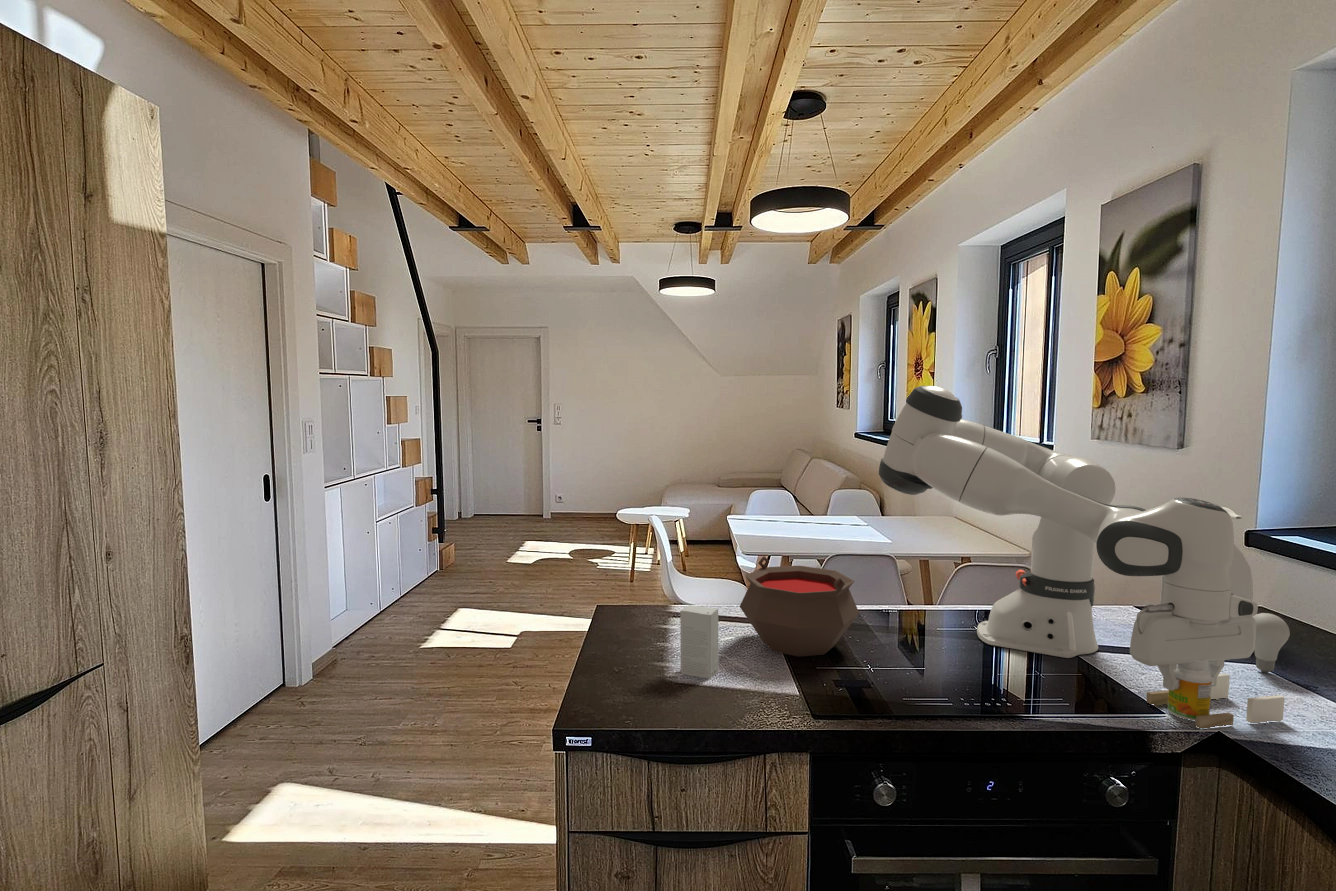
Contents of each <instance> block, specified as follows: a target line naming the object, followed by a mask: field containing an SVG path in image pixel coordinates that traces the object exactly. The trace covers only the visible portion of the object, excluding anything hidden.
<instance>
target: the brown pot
mask: <svg viewBox="0 0 1336 891" xmlns="http://www.w3.org/2000/svg"><path fill="white" fill-rule="evenodd" d="M763 562H764V563H763ZM769 563H770V560H768V558H767V557H766V555H763V556H762V557H761V558H760V560H759V562H758V565H759V566H760V568H758V569H756V570H754V571H752V572H750V573H748V574H746V575H744V577H745V578H746V579H747V581H748V582H749V586H748V588H747V590H746V592H745V594H744V597H743V598H742V601H741V603H740V605H739V608H740V609H741V610H742V611H741V612H742V613H743V614H744V615H745V617H746V618H747V620H748V621H749V623H750V624H751V626H752V627H753V629H754V630H755V633H756V634H757V635H758V637H759V638H760V640H761V641H762V643H763V644H765V645H766V647H767V648H769V650H770V651H771V652H775V653H780V654H784V655H788V656H789V655H790V656H793V657H798V658H799V657H809V656H811V657H812V656H823V655H826V653H827V652H829V651H830V650H832V648H834V647H835V645H837V643H838V642H839V640H841V638H842V636H843V635H844V634H845V632H846V631H847V630H849V628H850V626H851V625H852V624H853V622H854V621H855V620H856V618H857V617H858V616H859V615H860V612H859V609H858V607H857V605H856V604H857V603H856V602H855V600H854V597H853V595H852V593H851V590H850V588H851V586H852V585H853V584H854V583H855V580H854V579H852V578H851V577H848V576H847V575H845V574H843V573H841V572H839V571H837V570H835V569H833V570H832V569H827V568H819V567H812V566H811V567H810V566H804V565H783V566H768V565H769Z"/></svg>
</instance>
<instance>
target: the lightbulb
mask: <svg viewBox="0 0 1336 891" xmlns="http://www.w3.org/2000/svg"><path fill="white" fill-rule="evenodd" d="M1252 617H1253V618H1254V619H1255V622H1256V641H1255V649H1254V656H1255V667H1256V668H1257V669H1258V670H1260V671H1261V672H1262V673H1266V674H1268V673H1270V672H1273V671H1274V670H1275V665H1276V661H1277V660H1278V655H1279V652H1280V651H1281V649H1282V647H1283V646H1284V645H1285V644H1286V643H1287V641H1288V640H1289V638H1290V633H1291V632H1290V628H1289V625H1288V623H1287V622H1285V620H1284V619H1282V618H1281V617H1280V616H1277V615H1275V614H1273V613H1268V612H1261V613H1257V614H1256V615H1254V616H1252Z"/></svg>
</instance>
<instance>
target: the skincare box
mask: <svg viewBox="0 0 1336 891" xmlns="http://www.w3.org/2000/svg"><path fill="white" fill-rule="evenodd" d="M679 614H680V617H679V618H680V619H679V620H680V633H679V635H680V674H681V675H686V676H687V675H688V676H691V677H698V678H703V679H708V680H711V679H712V678H713V677H715V675H717V674H718V673H719V608H717V607H716V608H714V607H707V606H699V605H691V604H688V605H687V606H685V607H684V608H683V609H681V610H680V612H679Z"/></svg>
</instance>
